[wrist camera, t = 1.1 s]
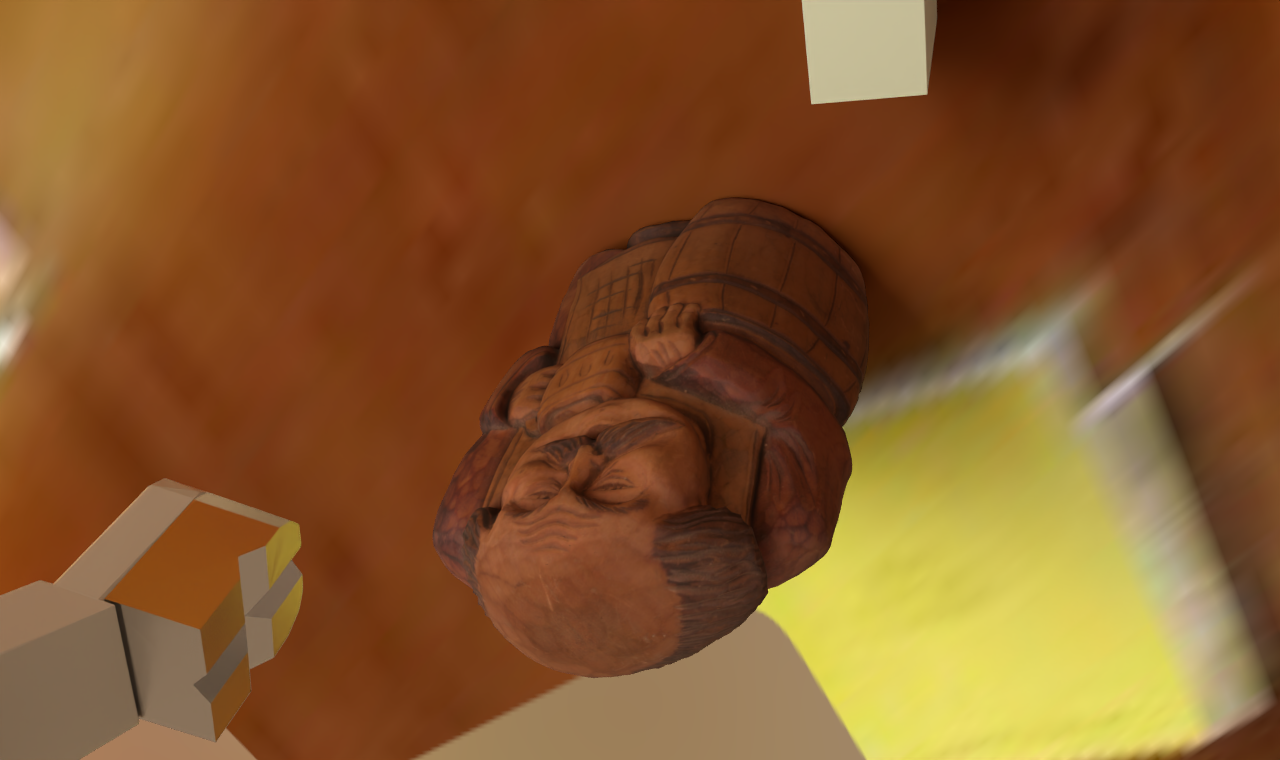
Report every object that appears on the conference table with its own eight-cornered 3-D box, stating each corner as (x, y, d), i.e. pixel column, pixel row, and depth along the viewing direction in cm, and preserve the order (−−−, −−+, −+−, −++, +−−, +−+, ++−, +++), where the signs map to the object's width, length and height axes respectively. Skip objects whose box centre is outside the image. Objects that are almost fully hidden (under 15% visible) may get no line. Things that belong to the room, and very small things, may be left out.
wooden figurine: (828, 157, 36) (727, 492, 22) (889, 310, 39) (834, 698, 25) (545, 254, 41) (315, 575, 27) (616, 383, 44) (441, 737, 30)
